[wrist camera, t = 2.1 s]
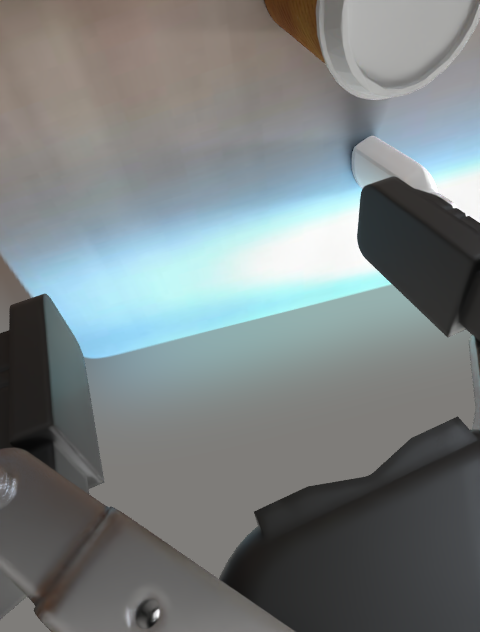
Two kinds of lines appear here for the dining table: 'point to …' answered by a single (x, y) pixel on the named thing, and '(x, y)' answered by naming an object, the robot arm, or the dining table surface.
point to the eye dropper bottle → (389, 166)
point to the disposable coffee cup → (380, 39)
